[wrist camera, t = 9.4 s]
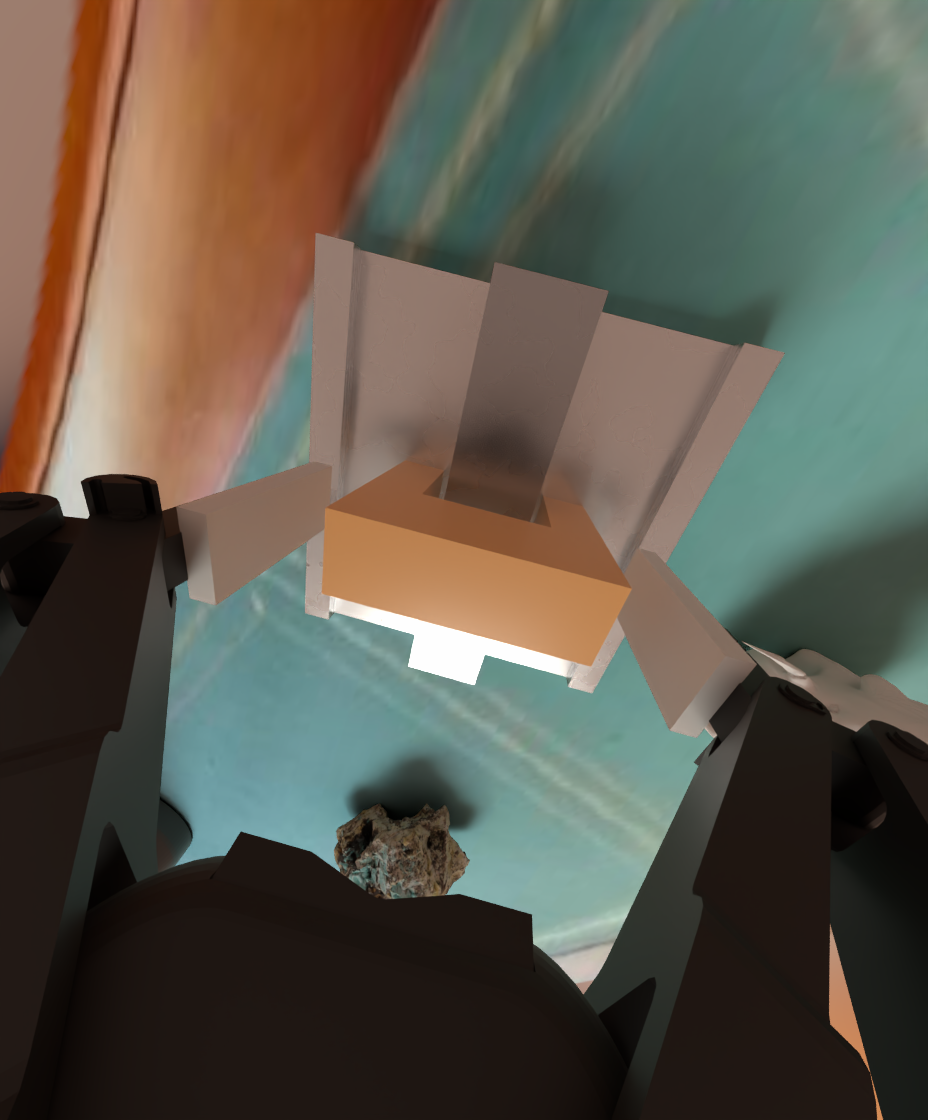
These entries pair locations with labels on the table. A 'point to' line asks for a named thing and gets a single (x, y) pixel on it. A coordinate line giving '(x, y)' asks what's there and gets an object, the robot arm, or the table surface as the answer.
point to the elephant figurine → (845, 692)
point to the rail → (515, 415)
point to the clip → (474, 565)
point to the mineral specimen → (400, 853)
